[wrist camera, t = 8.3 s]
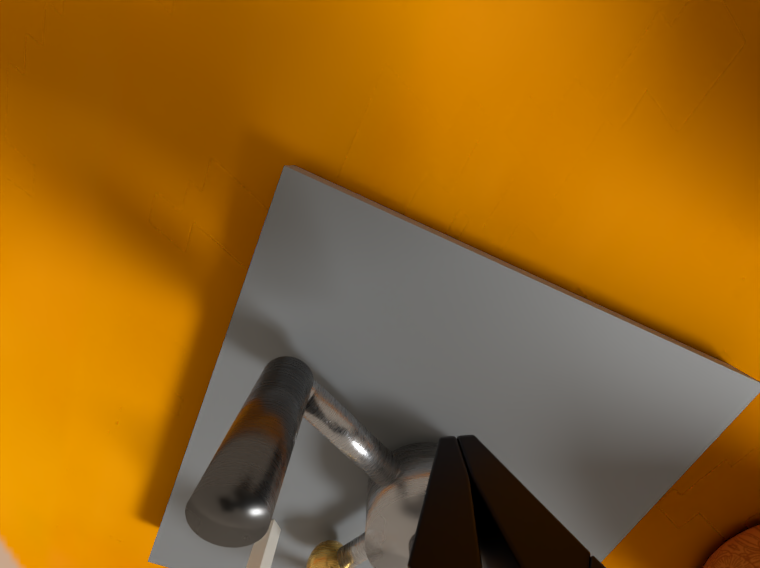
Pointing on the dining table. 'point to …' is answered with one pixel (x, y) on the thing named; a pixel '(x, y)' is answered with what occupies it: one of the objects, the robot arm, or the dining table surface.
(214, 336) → the dining table surface
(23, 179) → the dining table surface
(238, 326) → the stand
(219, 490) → the grey metal rounded piece
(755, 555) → the brown tall rounded piece
